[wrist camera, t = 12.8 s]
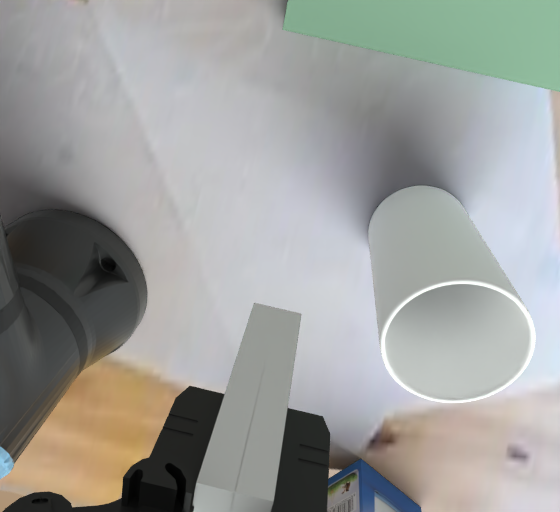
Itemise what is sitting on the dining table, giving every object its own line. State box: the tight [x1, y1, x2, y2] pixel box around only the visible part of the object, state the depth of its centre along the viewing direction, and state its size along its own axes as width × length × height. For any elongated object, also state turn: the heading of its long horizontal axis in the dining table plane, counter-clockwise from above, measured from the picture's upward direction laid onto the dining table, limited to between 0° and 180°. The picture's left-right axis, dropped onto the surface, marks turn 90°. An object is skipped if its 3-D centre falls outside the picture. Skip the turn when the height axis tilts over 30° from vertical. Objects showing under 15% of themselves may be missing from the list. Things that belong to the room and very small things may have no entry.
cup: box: [368, 186, 536, 403], centre depth 34 cm, size 8×8×16 cm
